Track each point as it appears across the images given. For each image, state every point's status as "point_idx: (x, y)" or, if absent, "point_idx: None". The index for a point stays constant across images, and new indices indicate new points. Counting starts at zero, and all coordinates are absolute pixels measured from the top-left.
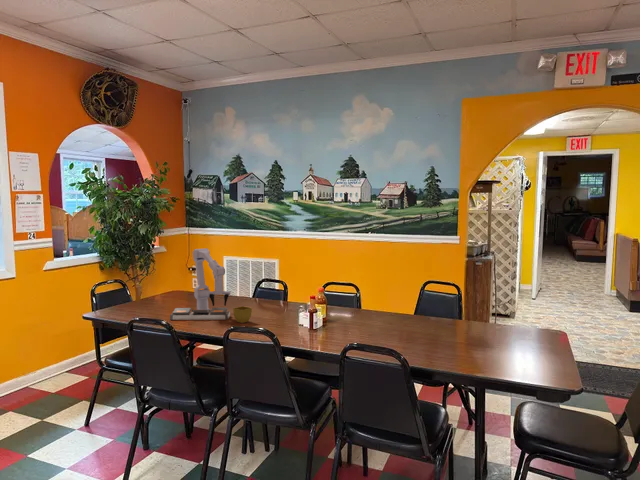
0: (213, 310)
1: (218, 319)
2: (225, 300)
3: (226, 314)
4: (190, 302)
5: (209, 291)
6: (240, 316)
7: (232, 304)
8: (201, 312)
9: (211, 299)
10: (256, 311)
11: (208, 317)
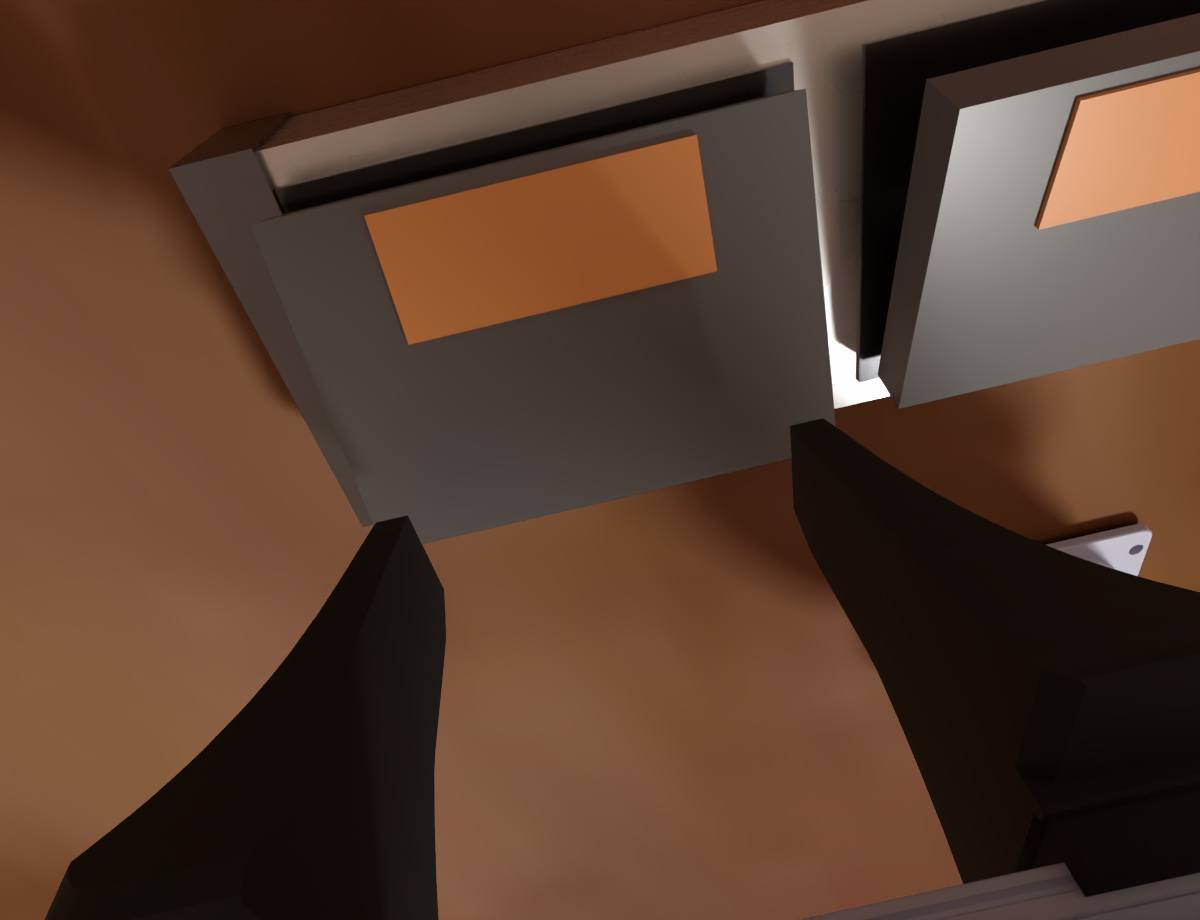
0: (732, 264)
1: (485, 69)
2: (303, 671)
3: (224, 181)
4: None
5: None
6: None
7: (676, 916)
8: None
9: (1009, 548)
10: (113, 793)
11: (794, 5)
